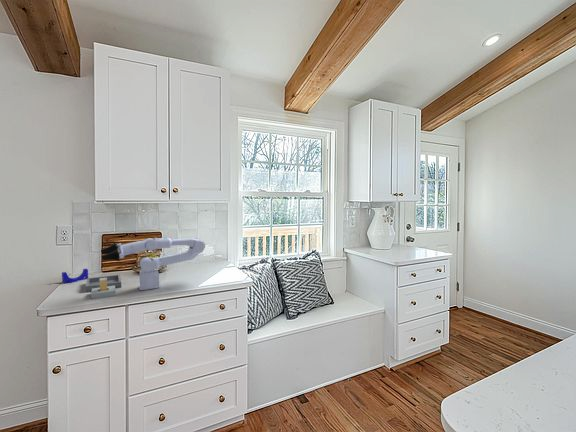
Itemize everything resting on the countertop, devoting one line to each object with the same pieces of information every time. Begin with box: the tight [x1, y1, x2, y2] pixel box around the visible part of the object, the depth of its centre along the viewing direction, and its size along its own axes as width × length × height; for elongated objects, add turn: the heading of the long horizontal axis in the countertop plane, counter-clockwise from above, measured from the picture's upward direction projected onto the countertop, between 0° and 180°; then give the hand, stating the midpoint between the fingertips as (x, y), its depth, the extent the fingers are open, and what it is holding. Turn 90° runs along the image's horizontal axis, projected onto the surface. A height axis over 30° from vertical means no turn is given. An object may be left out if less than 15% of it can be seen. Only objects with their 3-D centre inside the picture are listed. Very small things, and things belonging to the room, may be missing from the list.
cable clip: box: [61, 268, 89, 285], centre depth 174 cm, size 12×4×6 cm, turn 141°
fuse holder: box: [90, 286, 117, 300], centre depth 149 cm, size 10×10×2 cm
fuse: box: [100, 278, 107, 291], centre depth 149 cm, size 3×3×8 cm
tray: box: [84, 273, 122, 293], centre depth 165 cm, size 16×18×3 cm
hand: (101, 255), depth 149 cm, fingers open, 7 cm apart
